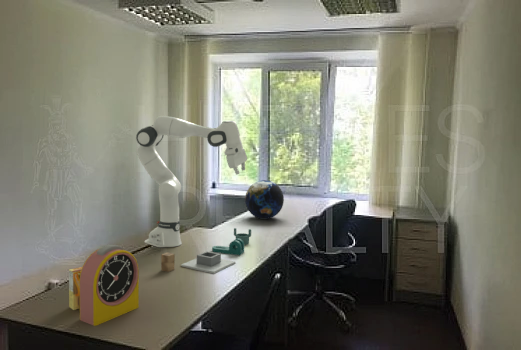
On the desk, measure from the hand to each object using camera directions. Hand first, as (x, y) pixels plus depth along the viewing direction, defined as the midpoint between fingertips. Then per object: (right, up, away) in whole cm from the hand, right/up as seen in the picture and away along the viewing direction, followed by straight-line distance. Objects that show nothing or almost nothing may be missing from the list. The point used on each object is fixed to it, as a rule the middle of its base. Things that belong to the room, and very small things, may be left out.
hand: (240, 172), depth 263 cm
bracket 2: (0, -44, +22) cm, 49 cm away
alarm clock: (-46, -54, -87) cm, 113 cm away
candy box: (-59, -53, -81) cm, 114 cm away
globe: (+14, -36, +95) cm, 103 cm away
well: (-16, -48, -24) cm, 56 cm away
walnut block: (-35, -49, -35) cm, 69 cm away
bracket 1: (-8, -46, +1) cm, 47 cm away
